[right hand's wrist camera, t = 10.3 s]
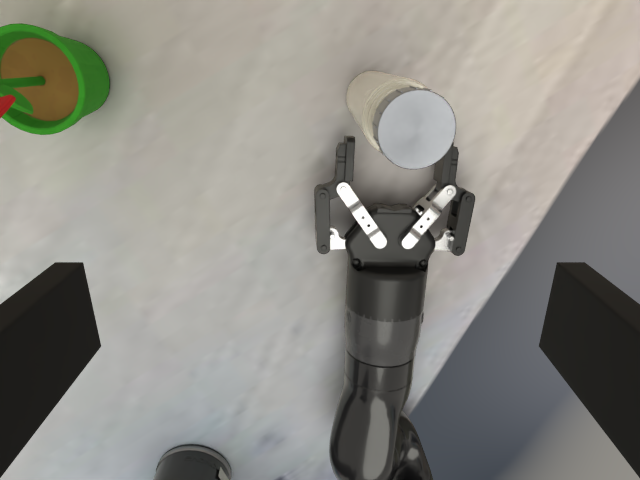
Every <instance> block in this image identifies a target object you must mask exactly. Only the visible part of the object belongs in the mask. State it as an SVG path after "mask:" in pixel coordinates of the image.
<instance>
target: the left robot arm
mask: <svg viewBox="0 0 640 480" xmlns="http://www.w3.org/2000/svg"><path fill="white" fill-rule="evenodd" d="M354 149H355V137H353V136H345V137H344V143H338V145H337V148H336V165H335V177H334V179H333V180H332V181H331V182H329V183H326V184H323V185H322V184H319V185H317V186H316V187H315V190H314V195H315V230H316V245H317V250H318V252H319V253H321V254H326V253H328V252H329V251H330V250H332V249H346V250H347V252H348V270H347V287H346V305H345V323H344V327H345V339H346V347H345V363H344V384H343V389H342V392H341V396H340V399H339V402H338V406H337V410H336V414H335V418H334V422H333V427H332V431H331V437H330V445H329V455H330V462H331V466H332V469H333V472H334V474H335V476H336V478H337V480H433V478H432V474H431V471H430V468H429V465H428V462H427V459H426V456H425V453H424V451H423V448H422V445H421V442H420V440H419V437H418V435H417V432H416V430H415V428H414V426H413V424H412V423H411V421H410V419H409V418H408V417H407V415H406V414H405V413H404V412H403V411H402V409H403V407H404V405H405V403H406V401H407V398H408V396H409V393H410V389H411V384H412V378H413V370H414V361H415V352H416V347H417V344H418V340H419V336H420V331H421V324H422V322H423V306H424V297H425V288H426V280H427V271H428V260H429V257H430V255H431V254H432V252H433V251H434V250H436V251H450V252H452V253H453V254H454V255H456V256H459V255H462V254H463V253H464V251H465V247H466V242H467V237H468V232H469V227H470V222H471V217H472V212H473V207H474V202H475V196H474V194H473V193H471V192H468V191H466V190H465V189H463V188H460V187H458V186H457V185H456V183H455V178H456V170H457V162H458V154H459V153H458V149H457V147H454V146H453V143H452V145H451V147H450V149H449V150H448V152H447V153H446V154H445V155H444V156H443V157H442V158H441V159H440V160H439V161H437V162H436V163H435V171H434V179H435V180H436V181H437V183H436V184H435V185H434V186H433V187H432V188H431V190H430V191H429V192H428V193H427V194H426V195H425V196H424V197H422V198H420V199H419V200H418V202H417V203H416V204H415V205H414V206H413V207H410V206H408V205H407V204H396V205H392V206H388V205H385V204H375V203H374V205H372V206H370V207H368V208H367V209H365V207H364V206H363V204H362V203H361V202H360V200H359V199H358V197H357V196H356V194H355V193H354V191H353V190H352V189H351V187H350V181H353V167H354ZM339 196H340V197H341V199H342V200H343V201H344V203H345V204H346V206H347V207H348V208H349V210H350V212H351V213H352V214H353V216H354V217H355V219H356V220H357V221H356V222H355V223H354V224H353V226H352V227H351V228H350V229H349V230H348V232H347V233H346V234H345V236H344V237H342V236H340V235H339V234H338V231H337V229H336V227H334V226H330V199H333V198H336V197H339ZM451 199H452V200H451ZM450 200H451V205H450V211H449V216H448V221H447V227H446V228H444V229H442V230H441V232H440V234H439V236H438V237H436V238H434V237H433V236H432V234H431V233H430V231H429V229H428V228H429V227H430V226H431V225H432V224H433V223H434V222H435V220H436V219H437V218H438V217H439V216H440V215H441V211H442V209H443V208H444V207H445V206H446V205H447V204H448V203H449V202H450ZM418 210H419V211H418ZM427 218H428V219H427ZM153 480H231V469H230V467H229V465H228V463H227V461H226V460H225V459H224V458H223V457H222V456H221V455H220V454H218V453H217V452H215V451H213V450H211V449H208V448H205V447H201V446H194V445H188V446H180V447H177V448H174V449H172V450H170V451H168V452H167V453H166V454H164V455H163V456H162V458H161V459H160V461H159V463H158V466H157V469H156V473H155V476H154V478H153Z"/></svg>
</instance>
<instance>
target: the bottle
mask: <svg viewBox="0 0 640 480" xmlns="http://www.w3.org/2000/svg"><path fill="white" fill-rule="evenodd" d="M409 86H414V87H418V88H422V89H423V88H427V87H426V86H424V85H423V84H422V83H420V82H418V81H416V80H413V79H409V78H405V77H401V76H396V75H392V74H387V73H383V72H379V71H366V72H363V73H361V74H359V75H358V76H356V77H355V78H354V79H353V80H352V82H351V83H350V85H349V87H348V90H347V95H346V101H347V106H348V109H349V111H350V112H351V114H352V116H353V117H354V119H355V120H356V122H357V124H358V125H359V127H360V129H361V130H362V132H363V134H364V135H365V137H366V138H367V140H368V141H369V143H370V144H371V145H372V146H373V147H374V148H375V149H376V150H378V151H379V152H381V151H380V150H379V146H378V145H377V143H376V141H375V139H374V138H373V136H374V134H373V125H372V122H373V118H374V115H375V112H376V109H377V108H378V106H379V104H380V103H381V102H382V100H383V99H384V97H386V96H388V95H389V94H390V93H392V92H394V91H396V89H401V88H405V87H409ZM427 89H428V88H427Z"/></svg>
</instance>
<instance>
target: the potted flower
mask: <svg viewBox="0 0 640 480" xmlns="http://www.w3.org/2000/svg"><path fill="white" fill-rule="evenodd" d="M108 93H109V76H108V72H107V69H106V67H105V65H104V63H103V61H102V60H101V58H100V57H99V56H98V55H97V54H96V52H94V51H93V50H92V49H91V48H90V47H88V46H86V45H85V44H83V43H81V42H78V41H75V40H72V39H68V38H65V37H61V36H58V35H57V34H55V33H53V32H51V31H49V30H46V29H43V28H40V27H37V26H33V25H28V24H9V25H6V26H2V27H0V118H1V117H2V118H3V119H5V120H6V121H7V122H9V123H10V124H11V125H13V126H15V127H17V128H19V129H20V130H23V131H26V132H29V133H33V134H40V135H47V134H54V133H58V132H61V131H63V130H65V129H67V128H69V127H70V126H72V125H74V124H75V123H76V122H78V121H79V120H80V119H81V118H82V117H84V116H86V115H88V114H90V113H92V112H94V111H95V110H97V109H98V108H100V107H101V106H102V105H103V103H104V102H105V101H106V98H107V96H108Z"/></svg>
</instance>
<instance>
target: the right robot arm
mask: <svg viewBox="0 0 640 480" xmlns="http://www.w3.org/2000/svg"><path fill="white" fill-rule="evenodd" d="M100 347H101V344H100V339H99V334H98V330H97V325H96V320H95V316H94V311H93V307H92V302H91V297H90V293H89V288H88V283H87V279H86V274H85V270H84V265H83V263H54V264H53V265H51V266H50V267H49V268H47V269H46V270H45V271H44V272H42V273H41V274H40V275H38V276H37V277H36V278H34V279H33V280H32V281H30V282H29V283H28V284H27V285H25V286H24V287H23V288H21V289H20V290H19V291H17V292H16V293H15V294H13V295H12V296H11V297H10V298H8V299H7V300H6V301H4V302H3V303H2V304H0V478H1V476H2V475H3V474H4V472H5V471H6V470H7V468H8V467H9V466H10V464H11V463H12V462H13V461H14V459H15V458H16V457H17V455H18V454H19V453H20V451H21V450H22V449H23V447H24V446H25V445H26V444H27V442H28V441H29V440H30V438H31V437H32V436H33V434H34V433H35V432H36V430H37V429H38V428H39V427H40V425H41V424H42V423H43V421H44V420H45V419H46V417H47V416H48V415H49V414H50V412H51V411H52V410H53V408H54V407H55V406H56V404H57V403H58V402H59V400H60V399H61V398H62V397H63V395H64V394H65V393H66V391H67V390H68V389H69V387H70V386H71V385H72V383H73V382H74V381H75V380H76V378H77V377H78V376H79V374H80V373H81V372H82V370H83V369H84V368H85V366H86V365H87V364H88V363H89V361H90V360H91V359H92V357H93V356H94V355H95V353H96V352H97V351H98V350H99V348H100ZM539 347H540V348H541V350H542V351H543V352H544V353H545V355H546V356H547V357H548V359H549V360H550V361H551V363H552V364H553V365H554V366H555V368H556V369H557V370H558V372H559V373H560V374H561V376H562V377H563V378H564V380H565V381H566V382H567V383H568V385H569V386H570V387H571V389H572V390H573V391H574V393H575V394H576V395H577V396H578V398H579V399H580V400H581V402H582V403H583V404H584V406H585V407H586V408H587V409H588V411H589V412H590V413H591V415H592V416H593V417H594V419H595V420H596V421H597V423H598V424H599V425H600V427H601V428H602V429H603V430H604V432H605V433H606V434H607V436H608V437H609V438H610V439H611V441H612V442H613V443H614V445H615V446H616V447H617V449H618V450H619V451H620V453H621V454H622V455H623V457H624V458H625V459H626V460H627V462H628V463H629V464H630V466H631V467H632V468H633V470H634V471H635V472H636V474H637V475H638V476H639V478H640V304H638V303H637V302H636V301H634V300H633V299H632V298H630V297H629V296H628V295H627V294H625V293H624V292H623V291H621V290H620V289H619V288H617V287H616V286H615V285H613V284H612V283H611V282H610V281H608V280H607V279H606V278H604V277H603V276H602V275H600V274H599V273H598V272H596V271H595V270H594V269H593V268H591V267H590V266H589V265H587V264H586V263H557V265H556V270H555V274H554V279H553V284H552V288H551V293H550V297H549V302H548V307H547V311H546V316H545V320H544V325H543V330H542V334H541V339H540V344H539Z"/></svg>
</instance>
